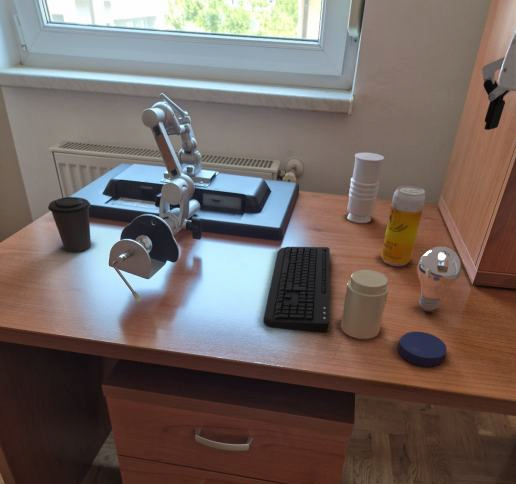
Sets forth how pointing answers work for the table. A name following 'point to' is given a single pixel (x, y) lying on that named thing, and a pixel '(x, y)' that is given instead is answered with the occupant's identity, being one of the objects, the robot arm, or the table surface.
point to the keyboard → (299, 290)
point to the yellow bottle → (403, 225)
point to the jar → (364, 304)
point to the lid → (422, 349)
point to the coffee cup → (72, 222)
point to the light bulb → (436, 275)
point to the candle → (364, 186)
